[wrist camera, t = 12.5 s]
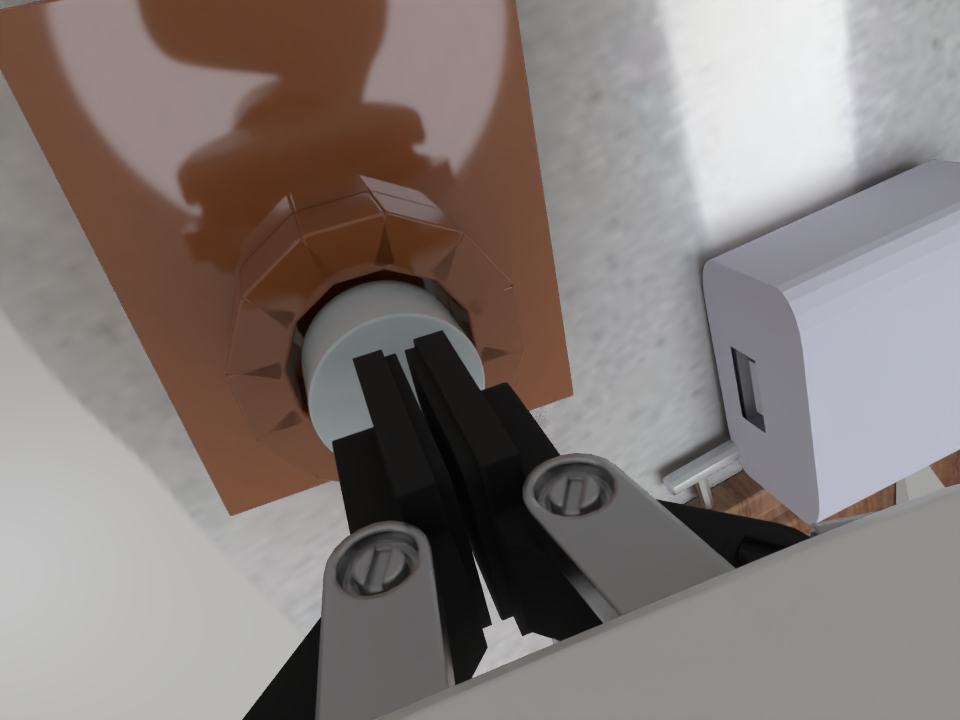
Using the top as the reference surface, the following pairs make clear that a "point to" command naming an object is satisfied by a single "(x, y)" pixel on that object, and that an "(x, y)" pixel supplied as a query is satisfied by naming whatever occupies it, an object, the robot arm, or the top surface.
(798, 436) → the charger
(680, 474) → the chopping board
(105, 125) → the brown base with collar
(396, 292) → the round grey push button
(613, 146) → the top surface
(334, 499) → the top surface
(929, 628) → the robot arm
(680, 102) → the top surface
